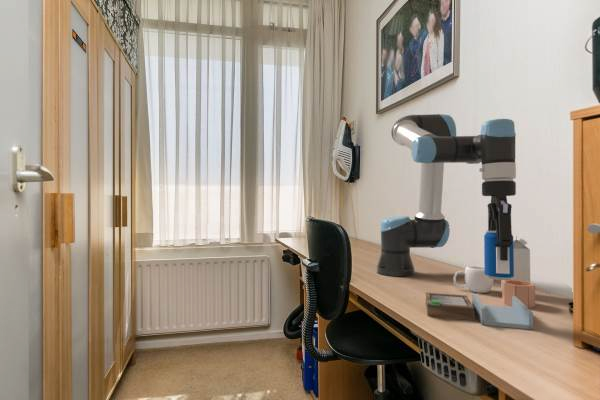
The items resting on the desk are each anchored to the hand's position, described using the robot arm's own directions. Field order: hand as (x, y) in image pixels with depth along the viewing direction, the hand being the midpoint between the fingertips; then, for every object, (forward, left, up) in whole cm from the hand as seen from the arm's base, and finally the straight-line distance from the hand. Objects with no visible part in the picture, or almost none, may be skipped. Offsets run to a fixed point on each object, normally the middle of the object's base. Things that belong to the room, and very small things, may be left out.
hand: (499, 270), depth 87 cm
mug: (-27, -2, -12) cm, 30 cm away
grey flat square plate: (-2, -12, -10) cm, 16 cm away
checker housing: (-2, -12, -12) cm, 17 cm away
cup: (-15, +8, -12) cm, 21 cm away
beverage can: (0, 0, -2) cm, 2 cm away
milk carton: (-26, +10, -12) cm, 31 cm away
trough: (0, 0, -12) cm, 12 cm away
